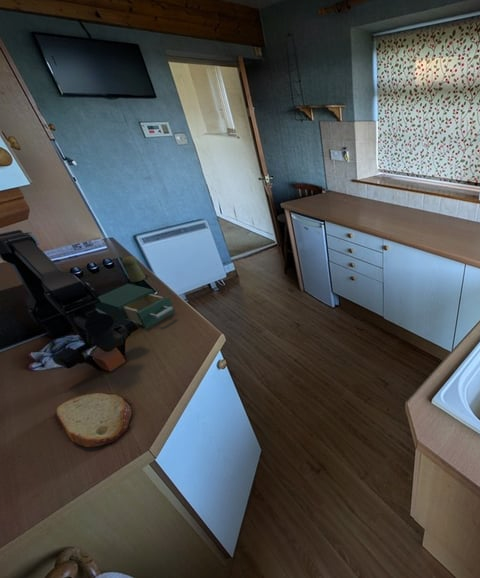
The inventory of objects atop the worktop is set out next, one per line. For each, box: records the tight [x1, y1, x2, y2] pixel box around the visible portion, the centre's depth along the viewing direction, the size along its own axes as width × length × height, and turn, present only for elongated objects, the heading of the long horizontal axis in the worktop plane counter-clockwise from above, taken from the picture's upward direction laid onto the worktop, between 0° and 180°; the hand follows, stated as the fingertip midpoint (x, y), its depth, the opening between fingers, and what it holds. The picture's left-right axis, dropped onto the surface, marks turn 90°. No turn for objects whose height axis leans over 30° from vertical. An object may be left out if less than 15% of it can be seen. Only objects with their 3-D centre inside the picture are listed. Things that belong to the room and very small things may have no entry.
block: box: [93, 348, 127, 372], centre depth 89 cm, size 4×4×4 cm
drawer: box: [122, 294, 176, 329], centre depth 108 cm, size 17×11×7 cm
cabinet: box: [94, 283, 156, 323], centre depth 111 cm, size 14×13×9 cm
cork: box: [121, 255, 147, 283], centre depth 134 cm, size 6×6×11 cm
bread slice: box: [56, 392, 132, 448], centre depth 72 cm, size 18×18×4 cm
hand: (112, 362), depth 90 cm, fingers open, 6 cm apart
